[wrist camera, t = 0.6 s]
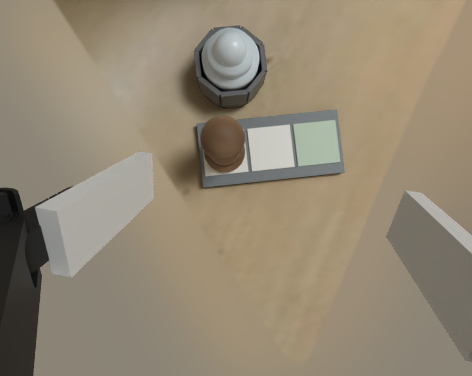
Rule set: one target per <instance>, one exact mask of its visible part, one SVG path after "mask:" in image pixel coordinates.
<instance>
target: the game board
mask: <svg viewBox="0 0 472 376" xmlns="http://www.w3.org/2000/svg"><path fill="white" fill-rule="evenodd" d="M237 121H238V122H239V123H240V125H241V126H242V128H243V130H244V133H245V144H244V146H245V157H244V160H243V162H242V164H241V165H240V166H239V167H238V168H237V169H235V170H234V171H231V172H227V173H223V172H218V171H216V170H214V169H213V168H211V167H210V166H209V164H208V163H207V161H206V159H205V156H204V150H203V148H202V146H201V141H200V135H201V131H202V128H203V126H204V125H205V123H199V124H197V133H198V143H199V152H200V162H201V172H202V181H203V188H205V187H215V186H224V185H234V184H243V183H252V182H262V181H271V180H280V179H290V178H299V177H308V176H318V175H327V174H337V173H344V172H345V171H344V163H343V155H342V147H341V139H340V131H339V123H338V115H337V110H328V111H318V112H308V113H298V114H288V115H278V116H268V117H258V118H248V119H239V120H237Z"/></svg>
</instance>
